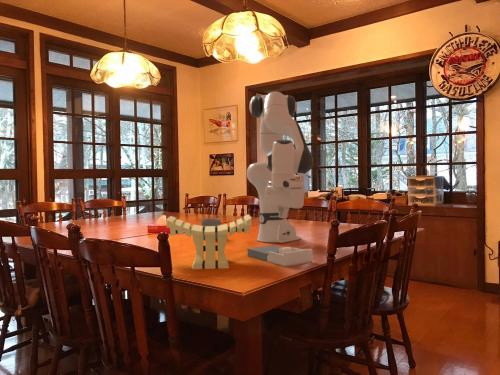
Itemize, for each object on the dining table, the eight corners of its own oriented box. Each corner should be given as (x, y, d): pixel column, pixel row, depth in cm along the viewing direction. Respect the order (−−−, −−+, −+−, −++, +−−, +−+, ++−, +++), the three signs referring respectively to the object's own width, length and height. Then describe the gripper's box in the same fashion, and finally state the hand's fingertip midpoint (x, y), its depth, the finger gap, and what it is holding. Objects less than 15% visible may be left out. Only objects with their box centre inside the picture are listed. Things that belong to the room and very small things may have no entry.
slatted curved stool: (248, 258, 162) (248, 213, 161) (252, 267, 146) (251, 217, 145) (172, 260, 159) (171, 215, 159) (167, 270, 144) (166, 219, 143)
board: (273, 252, 173) (273, 245, 173) (292, 257, 162) (292, 249, 162) (247, 255, 166) (247, 248, 166) (266, 261, 155) (266, 253, 155)
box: (293, 257, 162) (293, 244, 162) (312, 262, 153) (312, 248, 153) (267, 261, 155) (267, 248, 155) (285, 267, 146) (285, 253, 146)
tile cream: (288, 246, 158) (292, 247, 156) (288, 258, 158) (292, 259, 156) (278, 248, 155) (282, 249, 153) (278, 259, 156) (283, 260, 154)
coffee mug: (217, 240, 205) (217, 220, 205) (199, 240, 207) (198, 220, 207) (224, 236, 219) (224, 217, 218) (206, 235, 220) (206, 217, 220)
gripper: (260, 181, 163) (260, 215, 163) (293, 183, 146) (293, 221, 146) (273, 180, 166) (273, 214, 167) (306, 183, 149) (306, 220, 150)
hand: (282, 218), depth 157 cm, fingers closed
